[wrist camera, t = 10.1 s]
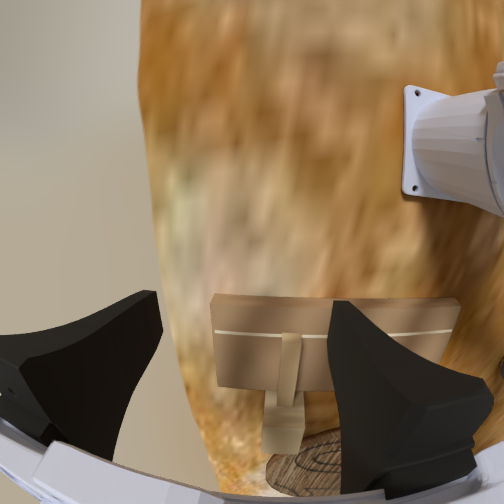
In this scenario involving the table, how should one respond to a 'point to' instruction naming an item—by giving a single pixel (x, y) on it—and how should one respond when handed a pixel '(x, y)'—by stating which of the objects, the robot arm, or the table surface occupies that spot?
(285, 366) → the beige block with handle
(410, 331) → the board
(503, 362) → the rubber mallet
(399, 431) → the robot arm
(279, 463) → the trivet
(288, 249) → the table surface
